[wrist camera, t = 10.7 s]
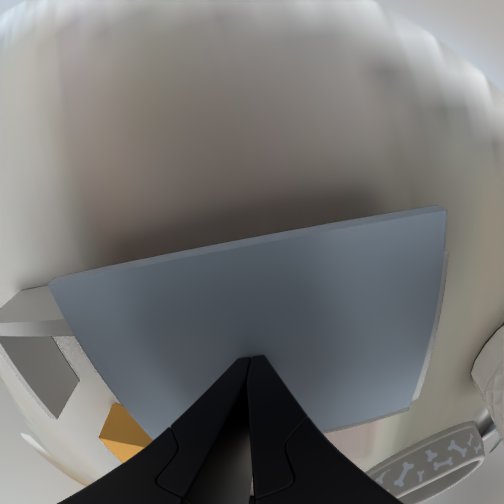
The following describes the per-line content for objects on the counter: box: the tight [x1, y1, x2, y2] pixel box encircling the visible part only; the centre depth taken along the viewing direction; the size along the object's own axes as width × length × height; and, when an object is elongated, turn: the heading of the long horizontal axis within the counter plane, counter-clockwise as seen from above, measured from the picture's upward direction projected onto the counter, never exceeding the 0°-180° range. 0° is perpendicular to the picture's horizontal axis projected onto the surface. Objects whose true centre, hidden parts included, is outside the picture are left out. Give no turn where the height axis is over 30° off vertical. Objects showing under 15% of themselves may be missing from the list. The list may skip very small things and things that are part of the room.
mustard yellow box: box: [99, 404, 153, 463], centre depth 16 cm, size 4×5×4 cm
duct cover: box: [48, 205, 447, 440], centre depth 9 cm, size 9×12×1 cm
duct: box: [0, 251, 449, 419], centre depth 12 cm, size 8×22×4 cm, turn 102°
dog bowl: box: [366, 421, 485, 504], centre depth 20 cm, size 17×18×5 cm
